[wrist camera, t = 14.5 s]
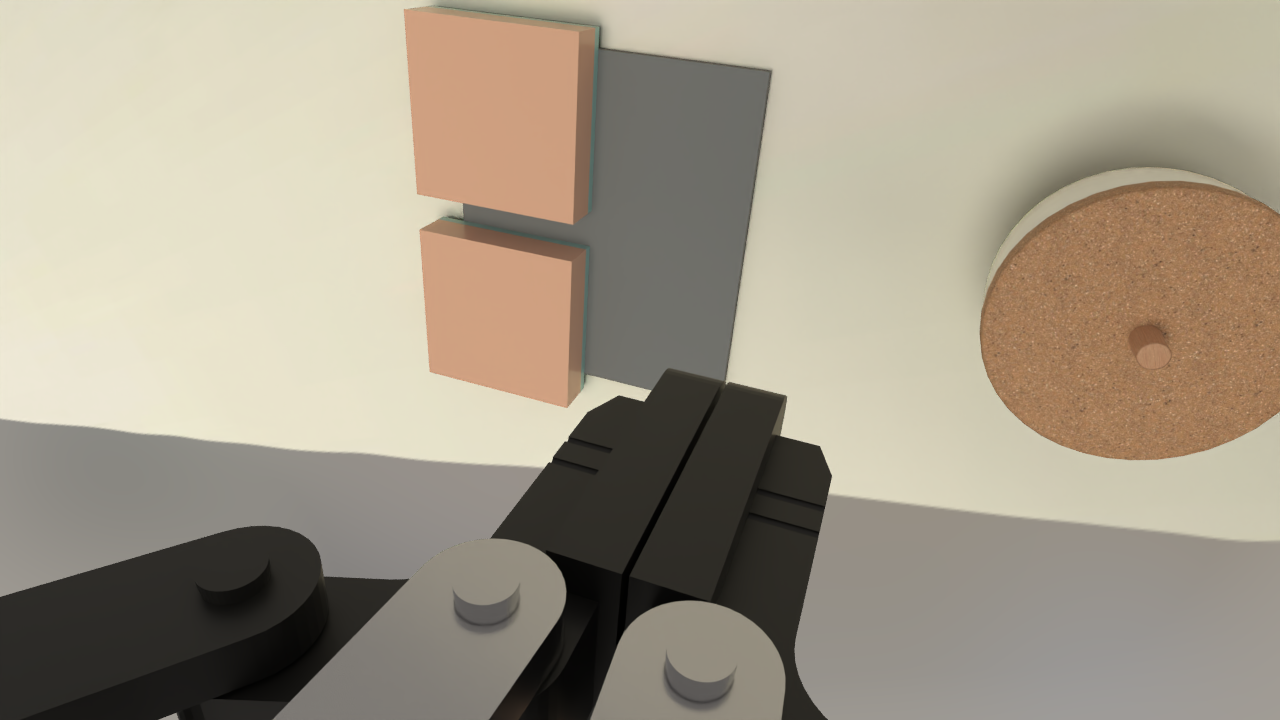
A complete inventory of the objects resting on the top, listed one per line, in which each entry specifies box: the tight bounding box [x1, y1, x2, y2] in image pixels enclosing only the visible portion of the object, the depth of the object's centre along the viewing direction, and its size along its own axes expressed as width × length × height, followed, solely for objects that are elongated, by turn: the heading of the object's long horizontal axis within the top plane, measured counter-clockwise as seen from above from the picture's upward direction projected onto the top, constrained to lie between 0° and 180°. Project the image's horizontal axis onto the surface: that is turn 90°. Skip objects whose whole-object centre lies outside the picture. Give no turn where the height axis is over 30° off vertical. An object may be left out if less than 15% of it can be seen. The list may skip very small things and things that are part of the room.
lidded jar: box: [980, 167, 1280, 460], centre depth 30 cm, size 11×11×9 cm
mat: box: [463, 48, 771, 390], centre depth 42 cm, size 16×18×1 cm
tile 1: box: [404, 6, 599, 225], centre depth 39 cm, size 2×9×9 cm
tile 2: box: [420, 217, 590, 408], centre depth 44 cm, size 2×9×9 cm
